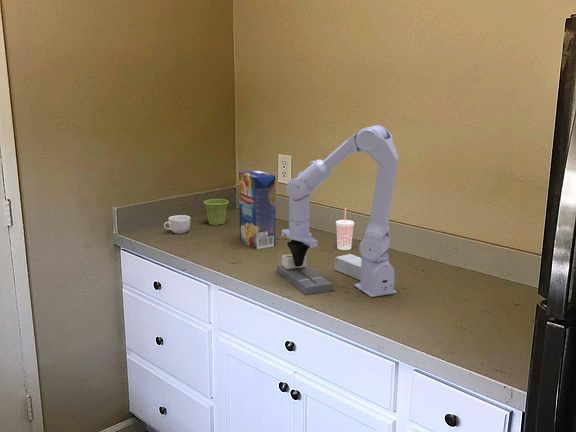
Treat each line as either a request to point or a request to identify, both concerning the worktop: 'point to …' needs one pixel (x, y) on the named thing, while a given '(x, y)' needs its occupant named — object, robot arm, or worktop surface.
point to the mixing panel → (305, 279)
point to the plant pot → (216, 211)
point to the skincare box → (349, 265)
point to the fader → (291, 262)
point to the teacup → (178, 223)
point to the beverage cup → (344, 233)
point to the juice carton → (257, 209)
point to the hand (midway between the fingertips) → (298, 265)
